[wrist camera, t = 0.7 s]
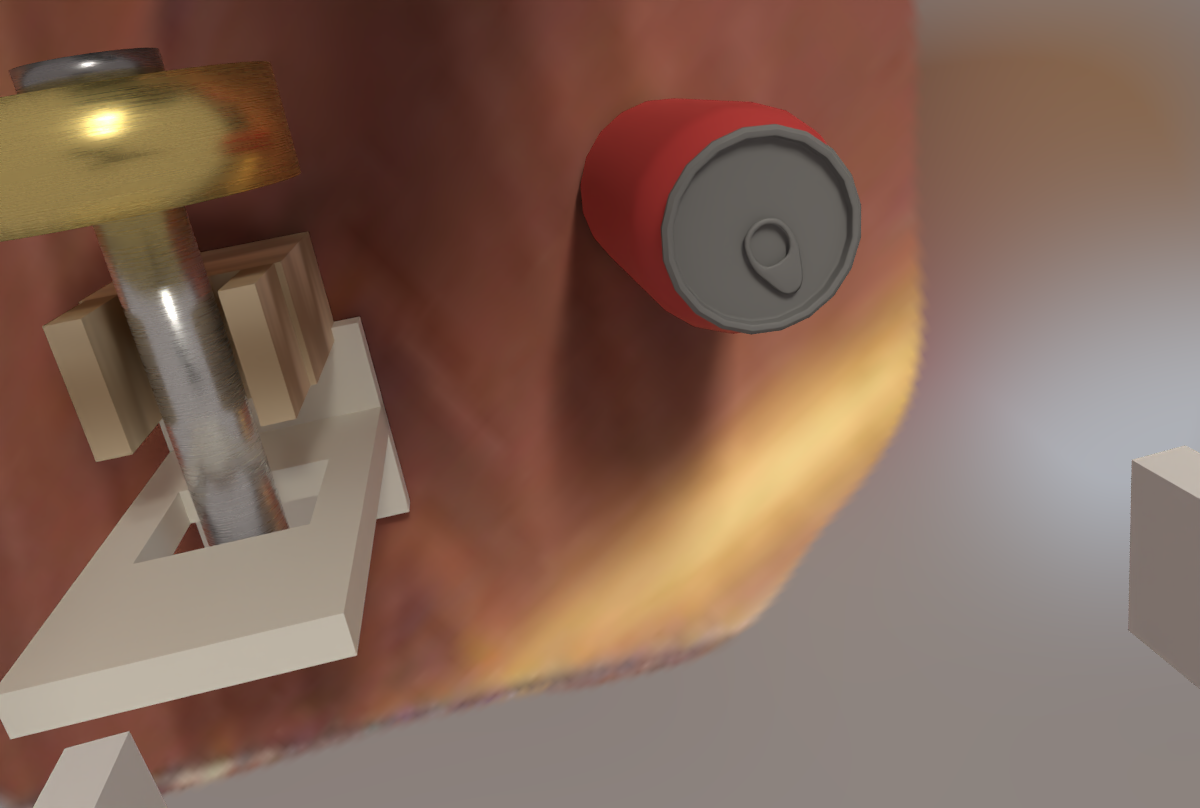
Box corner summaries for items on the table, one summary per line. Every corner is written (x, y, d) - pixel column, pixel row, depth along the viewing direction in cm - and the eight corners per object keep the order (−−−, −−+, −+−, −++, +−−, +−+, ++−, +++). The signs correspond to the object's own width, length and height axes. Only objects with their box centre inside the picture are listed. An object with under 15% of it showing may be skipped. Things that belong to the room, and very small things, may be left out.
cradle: (142, 264, 33) (34, 327, 24) (308, 231, 34) (262, 282, 25) (178, 367, 35) (89, 463, 26) (337, 334, 35) (303, 417, 26)
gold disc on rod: (-14, 90, 28) (-209, 92, 19) (285, 38, 29) (222, 17, 20) (176, 585, 34) (90, 749, 26) (418, 529, 35) (412, 670, 26)
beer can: (634, 303, 37) (720, 397, 26) (544, 161, 35) (596, 197, 23) (772, 212, 37) (919, 267, 26) (691, 62, 34) (814, 50, 23)
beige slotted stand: (147, 360, 35) (-74, 567, 20) (359, 316, 35) (302, 483, 20) (214, 545, 37) (65, 850, 22) (410, 501, 38) (392, 767, 23)
